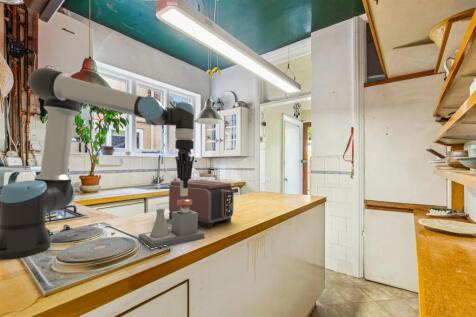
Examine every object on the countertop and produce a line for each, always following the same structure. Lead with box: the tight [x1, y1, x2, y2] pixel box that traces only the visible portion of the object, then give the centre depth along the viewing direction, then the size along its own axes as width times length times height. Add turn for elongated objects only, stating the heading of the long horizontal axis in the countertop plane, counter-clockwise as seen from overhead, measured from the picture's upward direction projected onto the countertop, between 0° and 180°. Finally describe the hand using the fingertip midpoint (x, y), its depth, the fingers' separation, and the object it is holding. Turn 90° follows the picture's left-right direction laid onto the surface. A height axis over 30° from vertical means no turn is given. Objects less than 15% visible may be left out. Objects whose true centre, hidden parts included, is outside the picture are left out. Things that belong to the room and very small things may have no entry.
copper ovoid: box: [177, 199, 193, 214], centre depth 101 cm, size 6×6×8 cm
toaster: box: [168, 179, 235, 229], centre depth 127 cm, size 19×36×21 cm, turn 54°
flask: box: [150, 208, 170, 237], centre depth 94 cm, size 7×7×10 cm
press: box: [138, 210, 205, 249], centre depth 97 cm, size 22×14×10 cm, turn 130°
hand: (184, 195), depth 100 cm, fingers closed
